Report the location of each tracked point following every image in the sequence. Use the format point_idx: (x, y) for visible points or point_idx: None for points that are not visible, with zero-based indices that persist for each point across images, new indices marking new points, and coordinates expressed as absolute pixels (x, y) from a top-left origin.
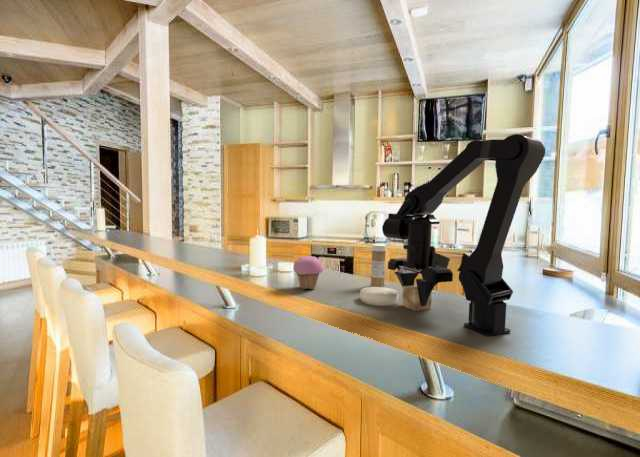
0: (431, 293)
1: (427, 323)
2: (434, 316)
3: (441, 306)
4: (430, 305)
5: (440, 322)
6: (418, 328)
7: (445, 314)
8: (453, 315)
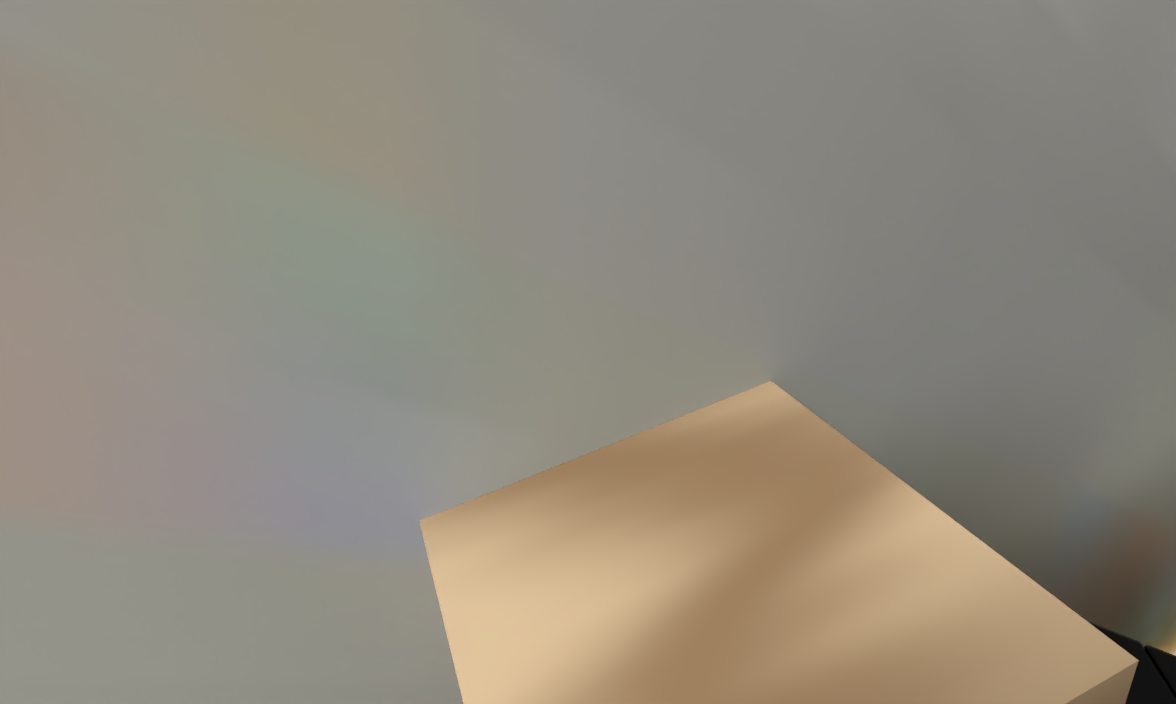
0: (1022, 572)
1: (1120, 549)
2: (1027, 432)
3: (670, 82)
4: (814, 422)
5: (1164, 427)
6: (1148, 627)
7: (1035, 252)
8: (1110, 145)
